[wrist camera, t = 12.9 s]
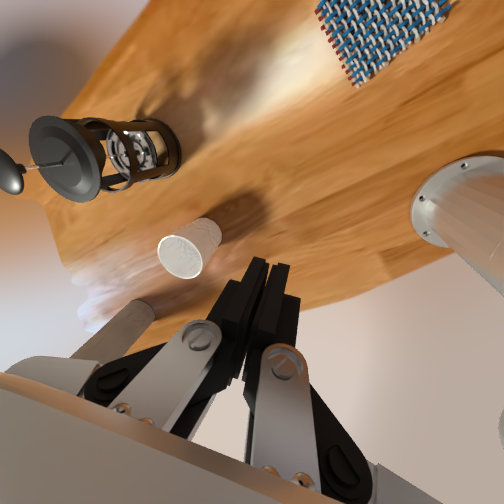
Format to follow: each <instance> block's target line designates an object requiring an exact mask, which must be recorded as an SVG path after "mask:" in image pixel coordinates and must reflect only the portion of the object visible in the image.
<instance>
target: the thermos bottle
mask: <svg viewBox="0 0 504 504" xmlns="http://www.w3.org/2000/svg"><path fill="white" fill-rule="evenodd" d="M154 319H155V314H154V312H153V310H152V309H151V307H150V306H149V305H147V304H146V303H144V302H142V301H139V300H133V301H131V302H130V303H129V304H127V305H126V306H125V307H124V308H123V309H122V310H121V311H120V312H119V313H118V314H117V315H115V316H114V317H113V318H112V319H111V320H110V321H109V322H108V323H107V324H106V325H105V326H104V327H102V328H101V329H100V330H99V331H98V332H97V333H96V334H95V335H94V336H93V337H92V338H90V339H89V340H88V341H87V342H86V343H85V344H84V345H83V346H82V347H81V348H79V349H78V350H77V352H75V353H74V354H73V355H72V356H71V357H70V359H81V360H92V361H99V363H100V364H102V365H104V364H106V363H108V362H111V361H113V360H116V359H119V358H122V357H123V356H124V354H125V353H126V352H127V351H128V349H129V348H130V347H131V346H132V345H133V344H134V342H135V341H136V340H137V339H138V338H139V337H140V336H141V335H142V334H143V332H144V331H145V330H146V329H147V328H148V327H149V325H150V324H151V323H152V322H153V321H154Z"/></svg>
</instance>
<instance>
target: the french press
mask: <svg viewBox="0 0 504 504" xmlns="http://www.w3.org/2000/svg"><path fill="white" fill-rule="evenodd" d="M145 131H158V132H159V133H160V134H161V136H162V137H163V139H164V141H165V144H166V146H167V150H168V158H169V160H168V164H167V165H163V166H159V167H157V153H156V149H155V146H154V144H153V142H152V140H151V138H150V137H149V135H148V134H147V133H146V132H145ZM99 140H106V147H107V152H108V155H106V153H105V150H104V147H103V146H102V144H101V143H100V141H99ZM29 146H30V152H31V155H32V158H33V160H34V163H35V165H30V166H23V165H22V164H16V163H15V162H14V160H13V159H12V158H11V157H10V156H9V155H8V154H7V153H6V152H4V151H3V150H2V149H0V188H1V189H2V190H3V191H5V192H7V193H9V194H12V195H18V194H20V193H22V191H23V189H24V180H23V176H22V174H25V173H26V170H31V169H38V170H39V172H40V174H41V175H42V177H43V178H44V179H45V181H46V182H47V183H48V184H49V185H50V186H51V187H52V188H53V189H54V190H55V191H56V192H57V193H59V194H60V195H61V196H63V197H65V198H66V199H69V200H71V201H74V202H82V203H84V202H88V201H91V200H92V199H94V198H95V197H96V196H97V195H98V194H99V191H100V190H102V191H105V192H109V193H115V192H119V191H122V190H125V189H128V188H129V187H131V186H132V185H133V183H136V182H144V181H147V180H157V179H160V178H167V177H170V176H172V175H173V174H174V173H175V172H176V171H177V170H178V168H179V166H180V163H181V148H180V144H179V141H178V139H177V137H176V135H175V133H174V132H173V131H172V129H171V128H170V127H169V126H168V125H166V124H165V123H163V122H162V121H160V120H157V119H152V118H150V119H144V120H133V121H130V122H127V121H120V122H116V121H113V120H106V119H103V118H92V117H89V118H83V119H62V118H59V117H55V116H42V117H40V118H38V119H36V120H35V121H34V122H33V124H32V126H31V128H30V132H29ZM107 158H110V160H111V162H112V164H113V166H114V167H115V169H116V170H117V171H118V172H119V173H118V174H113V175H109V176H104V177H102V172H103V168H104V165H105V161H106V159H107ZM126 181H127V183H126V185H125V186H124V187H123V188H121V189H114V188H110V187H108V186H112V185H115V184H119V183H122V182H126Z"/></svg>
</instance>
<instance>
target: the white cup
mask: <svg viewBox="0 0 504 504" xmlns="http://www.w3.org/2000/svg"><path fill="white" fill-rule="evenodd" d="M221 241H222V233H221V230H220V228H219V226H218V225H217V224H216V223H215V222H214V221H212V220H210V219H208V218H198V219H196V220H194V221H193V222H191V223H188V224H186V225H184V226H183V227H181V228H179V229H178V230H176V231H174V232H173V233H171V234H170V235H168V236H166V237H165V238H163V239H162V240H161V241H160V243H159V245H158V256H159V259H160V261H161V263H162V265H163V266H164V267H165V268H166V269H167V270H168V271H169V272H170V273H172V274H173V275H175V276H177V277H180V278H185V279H189V278H194V277H196V276H197V275H198V274H199V273H200V272H201V271H202V269H203V268H204V266H205V265H206V264H207V262H208V261H209V260H210V258H211V257H212V255H213V254H214V252H215V251H216V248H217V247H218V246H219V244H220V243H221Z"/></svg>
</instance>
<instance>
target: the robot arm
mask: <svg viewBox="0 0 504 504" xmlns="http://www.w3.org/2000/svg"><path fill="white" fill-rule="evenodd" d="M462 164H464V165H463V166H462V167H461V165H462ZM420 196H422V198H420V199H419V197H420ZM410 219H411V223H412V225H413V228H414V229H415V231H416V232H417V233H418V234H419V235H420V236H421V237H422V238H423V239H424V240H426V241H427V242H429V243H431V244H434V245H436V246H440V247H445V248H451V249H452V250H453V251H455V252H456V253H457V254H458V255H459V256H460V257H461V258H462V259H463V260H464V261H465V262H466V263H467V264H469V265H470V266H471V267H472V268H473V269H474V270H475V271H476V272H477V273H478V274H480V276H481V277H483V278H484V279H485V280H486V281H487V282H488V283H489V284H490V285H491V286H492V287H493V288H494V289H496V290H497V291H498V292H499V293H500V294H501V295H502V296H503V297H504V158H501V157H496V156H488V155H485V156H472V157H467V158H463V159H460V160H457V161H454V162H451V163H450V164H448V165H446V166H444V167H442V168H440V169H439V170H437V171H436V172H434V173H433V174H432V175H431V176H430V177H428V178H427V179H426V180H425V181H424V182H423V184H422V185H421V186H420V187H419V189H418V190H417V192H416V194H415V195H414V197H413V200H412V203H411V206H410ZM425 231H426V232H425ZM424 232H425V233H424ZM265 262H266V259H262V258H258V257H253V259H252V261H251V263H250V265H249V267H248V269H247V271H246V273H245V275H244V277H243V279H242V280H241V282H239V281H235V280H229V281H228V283H227V285H226V286H225V288H224V290H223V291H222V293H221V295H220V296H219V298H218V300H217V301H216V303H215V305H214V306H213V308H212V310H211V311H210V313H209V315H208V316H207V318H206V320H201V319H199V320H194V321H191V322H189V323H187V324H185V325H184V326H183V327H182V328H181V329H180V330H179V331H178V332H177V333H176V334H175V335H174V336H173V337H172V338H171V339H170V340H169V342H166V343H163V344H160V345H157V346H154V347H151V348H148V349H145V350H142V351H139V352H137V353H134V354H131V355H128V356H125V357H122V358H119V359H116V360H113V361H111V362H108V363H106V364H104V365H102V364H100V363H99V361H92V360H81V359H70V358H58V357H47V356H35V357H30V358H27V359H24V360H22V361H20V362H18V363H16V364H14V365H13V366H11V367H10V368H9V369H8V370H7V371H5V372H4V373H2V372H0V504H443V503H441V502H439V501H438V500H436V499H434V498H433V497H431V496H430V495H428V494H427V493H425V492H423V491H422V490H420V489H418V488H417V487H416V486H414V485H412V484H411V483H409V482H408V481H406V480H404V479H403V478H401V477H400V476H398V475H396V474H395V473H393V472H391V471H390V470H388V469H387V468H385V467H384V466H382V465H381V464H379V463H378V464H377V465H374V464H372V463H371V462H369V461H368V460H366V459H365V457H364V455H363V454H362V452H361V450H360V449H359V448H358V447H357V445H356V444H355V442H354V441H353V440H352V438H351V437H350V436H349V434H348V433H347V432H346V431H345V429H344V428H343V427H342V425H341V424H340V423H339V421H338V420H337V418H336V417H335V416H334V415H333V413H332V412H331V411H330V409H329V408H328V407H327V405H326V404H325V403H324V401H323V400H322V399H321V397H320V396H319V395H318V393H317V392H316V391H315V389H314V388H313V387H312V385H311V384H310V383H309V375H308V367H307V363H306V360H305V358H304V357H303V355H302V354H301V353H300V352H299V351H298V350H297V349H296V348H295V344H296V336H297V326H298V318H299V310H300V301H301V299H300V298H298V297H294V296H291V295H287V294H284V291H285V286H286V282H287V277H288V273H289V268H290V265H287V264H282V263H278V265H273V266H272V269H271V272H270V274H269V277H268V280H267V283H266V279H267V274H268V269H269V263H265ZM265 284H266V286H265ZM246 353H247V354H246ZM245 356H246V359H245ZM244 359H245V365H244V371H243V376H242V381H244V382H245V387H244V392H243V396H244V398H245V400H246V402H247V404H248V406H249V408H250V410H249V416H248V426H247V435H246V444H245V453H244V462H241V461H238V460H236V459H233V458H231V457H228V456H226V455H223V454H221V453H218V452H216V451H213V450H211V449H208V448H206V447H203V446H201V445H198V444H196V443H193V442H191V440H192V438H193V437H194V435H195V433H196V431H197V429H198V428H199V426H200V424H201V422H202V420H203V419H204V417H205V415H206V413H207V412H208V410H209V408H210V406H211V404H212V403H213V401H214V399H215V396H216V394H217V393H218V392H220V391H222V390H224V389H226V387H227V385H228V386H230V384H231V381H232V378H235V379H238V377H239V374H240V371H241V368H242V365H243V361H244ZM498 429H499V435H500V439H501V444H502V446H503V448H504V409H503V411H502V414H501V416H500V418H499V426H498Z"/></svg>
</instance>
